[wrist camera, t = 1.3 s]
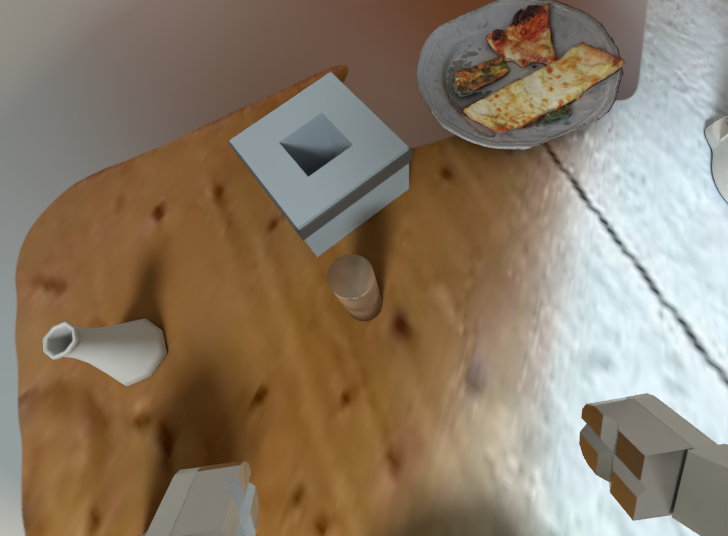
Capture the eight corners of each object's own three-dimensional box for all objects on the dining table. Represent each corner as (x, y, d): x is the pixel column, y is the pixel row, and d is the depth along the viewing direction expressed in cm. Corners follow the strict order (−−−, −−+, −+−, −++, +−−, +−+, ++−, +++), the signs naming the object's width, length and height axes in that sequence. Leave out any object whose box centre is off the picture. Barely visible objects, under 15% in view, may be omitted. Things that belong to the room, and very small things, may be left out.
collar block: (343, 119, 49) (331, 69, 41) (412, 188, 44) (412, 147, 36) (255, 180, 47) (226, 140, 40) (316, 259, 42) (296, 231, 35)
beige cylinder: (367, 279, 41) (355, 245, 31) (389, 305, 40) (383, 278, 30) (339, 300, 40) (318, 272, 31) (361, 328, 39) (345, 308, 30)
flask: (150, 308, 43) (77, 284, 34) (178, 354, 41) (109, 343, 31) (99, 348, 42) (10, 336, 33) (125, 398, 40) (37, 400, 30)
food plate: (549, -11, 52) (558, -39, 48) (655, 102, 44) (674, 79, 41) (391, 60, 52) (389, 38, 49) (468, 185, 44) (472, 169, 41)
